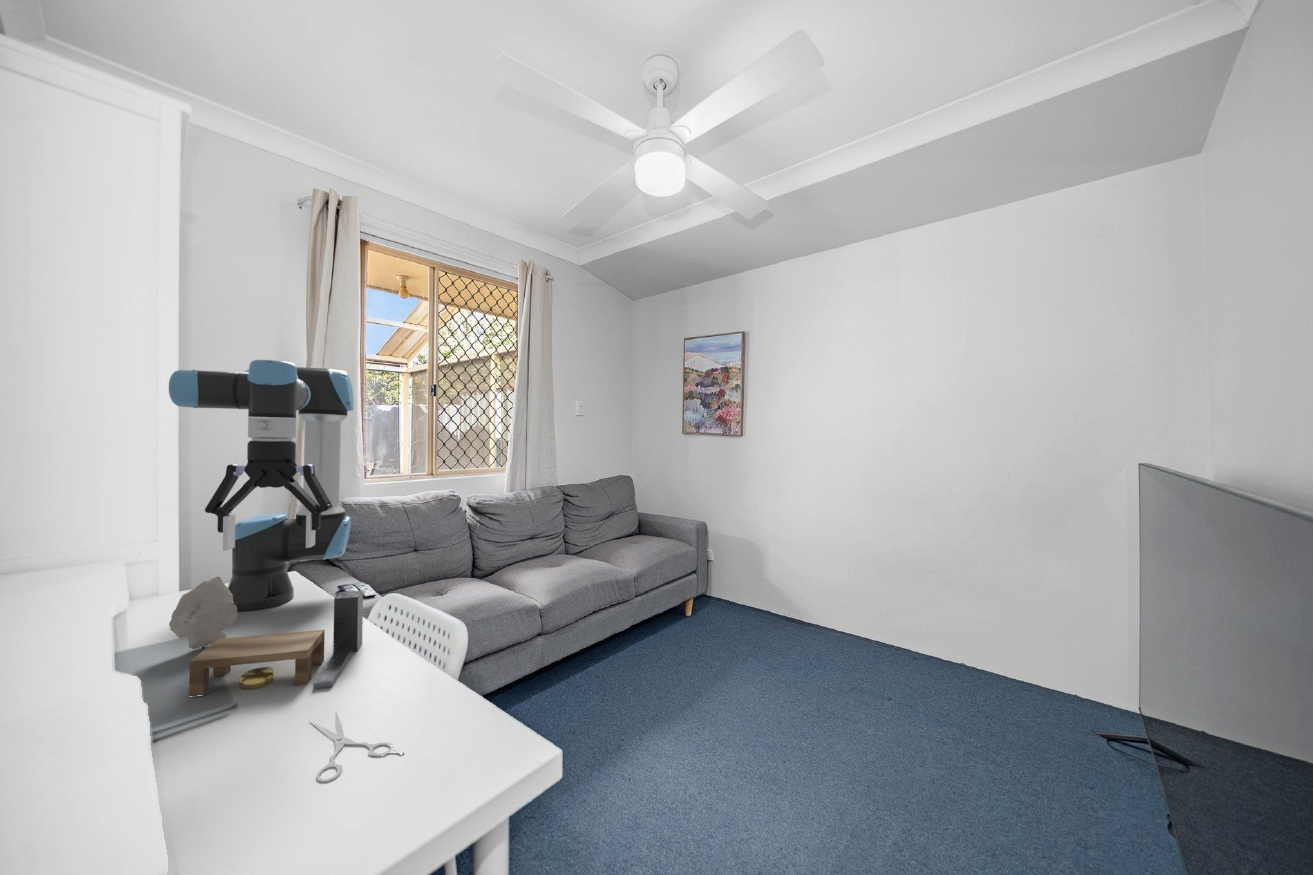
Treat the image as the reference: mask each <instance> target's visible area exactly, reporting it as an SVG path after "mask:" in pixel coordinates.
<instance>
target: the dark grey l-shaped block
mask: <svg viewBox="0 0 1313 875" xmlns="http://www.w3.org/2000/svg"><path fill="white" fill-rule="evenodd" d="M363 609H364V590H363V589H362V590H352V591H351V590H350V591H340V592H339V593H338V594H337V595H336V596H335V597H334V599H333V641H332V645H333V646H332V647H333V648H332V649H333V650H332V656H331V657H330V658H329V660H328V661H327V663H326V664H325V665H324V667H323V669H322V670H321V671H320V673H319V674H318V676H317V678H316V679H315V680H314V682H313V683H312V684H313V685H312V686H313V687H312V689H313V690H323V689H331V688H333V687H334V685H335V684H336V681H337V680H338V678H339V677H340V675H341V673H342V672H343V670H344V668H345V667H346V665H347V663H348V662H349V660H350V659H351V657H352V655H353V654H354V653H357V652H358V651H359V649H360V648H361V646H362V645H363V625H364V624H363V621H364V620H363V618H364V615H363V611H364V610H363ZM359 647H360V648H359Z"/></svg>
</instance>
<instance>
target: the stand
mask: <svg viewBox="0 0 1313 875" xmlns="http://www.w3.org/2000/svg"><path fill="white" fill-rule="evenodd" d="M291 660H295V662H294V664H295V665H294V667H295V668H294V686H295V687H296V686H303V685H308V684H309V682H310V681H311V680H312V666H313V667H314V666H321V665H322V664H323V663H324V662H325V629H318V630H317V629H316V630H315V629H314V630H303V631H293V632H292V631H291V632H281V633H270V634H269V633H268V634H257V635H245V636H244V635H243V636H233V637H225V638H220V639H218V640H216V641H215V642H214V643H213V644H211V645H209V646H207V647H205V649H204V650H203V651H201V652H200V653H199V654H197V655H196V656H195V657H193V658H192V659H191V660H190V661H189V675H188V676H189V678H188V679H189V682H188V683H189V684H188V685H189V686H188V687H189V688H188V692H189V693H188V697H189V696H197V695H203V694H205V693H206V692H207V691H208V690H209V691H210V669H212V676H213V675H220V676H226V675H227V674H228V673H229V672H230V671H232V670H231V668H232V667H233V666H242V665H249V664H250V665H253V664H262V663H273V662H281V661H291ZM209 691H208V692H209ZM208 692H207V693H208ZM207 693H206V694H207ZM206 694H205V695H206Z"/></svg>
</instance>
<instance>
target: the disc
mask: <svg viewBox="0 0 1313 875" xmlns="http://www.w3.org/2000/svg"><path fill="white" fill-rule="evenodd" d="M274 680H275V669H274V668H273V667H269V666H265V667H257V668H253V669H251V670H248V671H246V672H244V673H242V674H241V675H240V678H239V687H240V688H239V689H241V690H244V691H249V690H257V689H261V688H264V687H267V686H268V685H270V684H271V683H272V682H274Z"/></svg>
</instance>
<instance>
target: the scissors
mask: <svg viewBox="0 0 1313 875" xmlns="http://www.w3.org/2000/svg"><path fill="white" fill-rule="evenodd" d="M308 722H309V723H310V724H312V726H313V727H315V728H316V729H317V730H318V731H319V732H320V733H321V734H323V735H324V736H326V737H327V738H328V739H330V740H331V741H332V742H333V743H334V747H335V750H334V754H332V755H331V756H330V757H329V760H330V762H329V763H327V764H326V765H325V766H324V767H322V768H320V770H319V771H318V772H317V773H316V777H315V778H316V781H317V782H319V783H322V784H323V783H324V784H325V783H327V784H328V783H330V782H332V781H334V780H337V779H338V777H340V775H341V774H342V772H343V765H342V764H339V763H336V761H335V759H336V757H337V756H338V755H339V753H340V752H341V751H342V750H343V748H344V747H345V746H346V747H347V746H349V747H364V746H366V747H365V748H367V749H368V748H369V749H370V750H369V749H368V753H367V755H368V754H369V755H371V756H370V757H372V756H381V755H385V754H388V753H389V752H391V751H390V750H392V748H394V747H395V746H393V747H391V746H390V745H393V743H391V742H378V743H368V742H366V741H364V742H362V741H361V742H355V741H354V740H352V739H351V738H349V737H345V734H344V730H343V727H342V722H341V721H340V717H339V715H338V713H337V711H335V720H334V725H335V726H334V729H335V732H333V731H331V730H329V729H327V728H326V727H323V726H320V725H318V724H316V723H314V722H312V721H309V720H308ZM387 743H388V744H387ZM389 743H390V744H389ZM379 745H389V747H390V748H391V749H390V748H389V747H388V748H389V749H388V750H389V751H388V750H387V751H386V752H383V753H377V752H375V751H374V750H375V749H376V748H375V747H377V746H379ZM379 747H380V746H379ZM377 748H378V747H377ZM373 749H374V750H373ZM394 749H395V748H394ZM387 752H388V753H387ZM369 755H368V756H369ZM388 755H389V754H388ZM328 769H336V774H334V775H333V776H331V777H328V778H322V777H321V775H322V774H323V773H324V771H327V770H328Z"/></svg>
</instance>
